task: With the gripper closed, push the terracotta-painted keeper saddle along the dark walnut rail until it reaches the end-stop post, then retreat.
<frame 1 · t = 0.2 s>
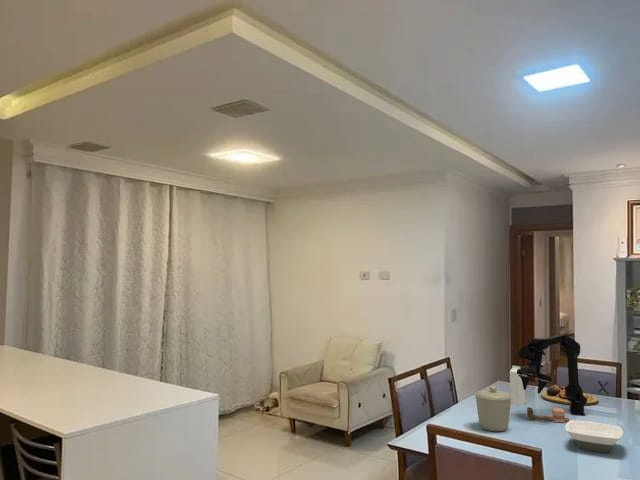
hand: (531, 391, 267), 15 cm above the table, tool pointing down, fingers open, 9 cm apart
keeper: (558, 415, 267), point 3 cm above the table, slide at 0.0 cm
bowl: (594, 448, 226), on the table
milk: (517, 403, 302), on the table
canister: (493, 429, 254), on the table
wooden plate with food: (569, 400, 312), on the table
rail: (548, 420, 268), on the table
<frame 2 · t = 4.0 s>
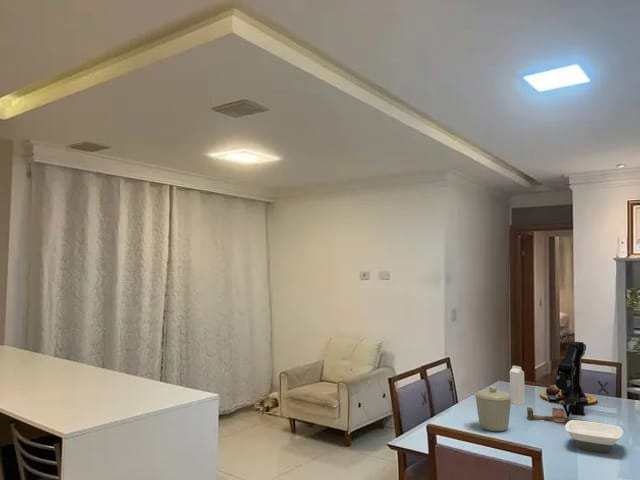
hand: (567, 416, 265), 3 cm above the table, tool pointing down, fingers closed
keeper: (558, 415, 267), point 3 cm above the table, slide at 0.0 cm, touching gripper
everything else where it was.
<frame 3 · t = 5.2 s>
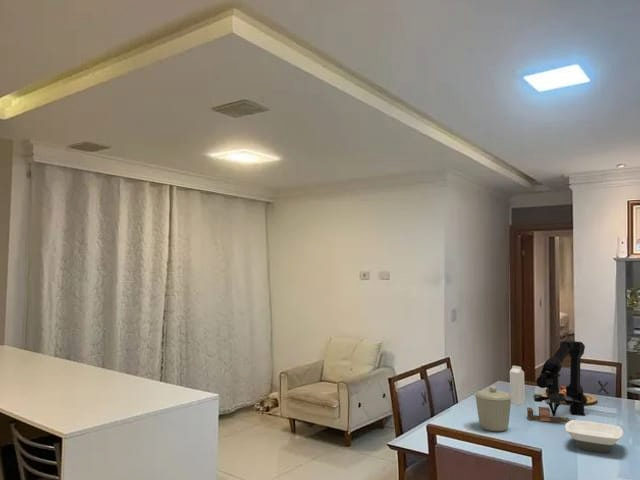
hand: (553, 415, 267), 3 cm above the table, tool pointing down, fingers closed
keeper: (544, 414, 269), point 3 cm above the table, slide at 6.8 cm, touching gripper
everything else where it was.
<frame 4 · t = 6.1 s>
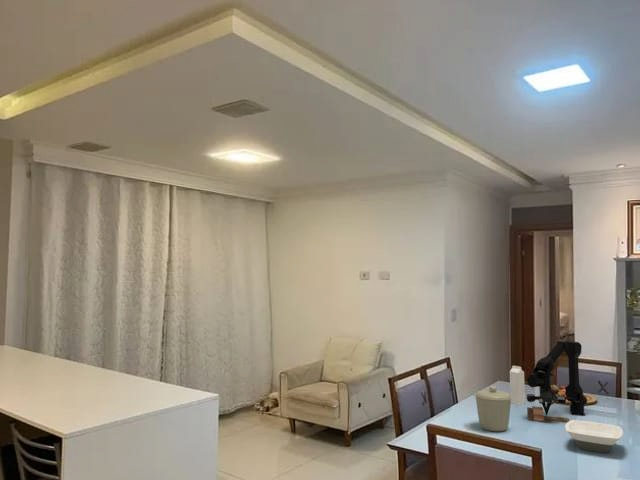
hand: (546, 415, 268), 3 cm above the table, tool pointing down, fingers closed
keeper: (537, 413, 270), point 3 cm above the table, slide at 10.1 cm, touching gripper
everything else where it was.
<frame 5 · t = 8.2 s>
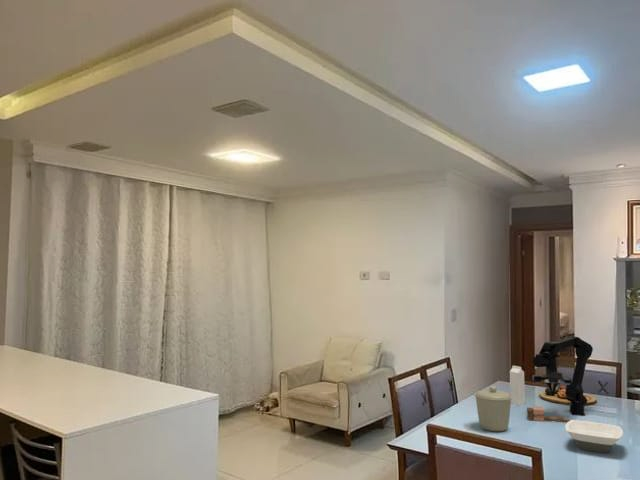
hand: (552, 395, 274), 12 cm above the table, tool pointing down, fingers closed
keeper: (537, 413, 270), point 3 cm above the table, slide at 10.0 cm
everything else where it was.
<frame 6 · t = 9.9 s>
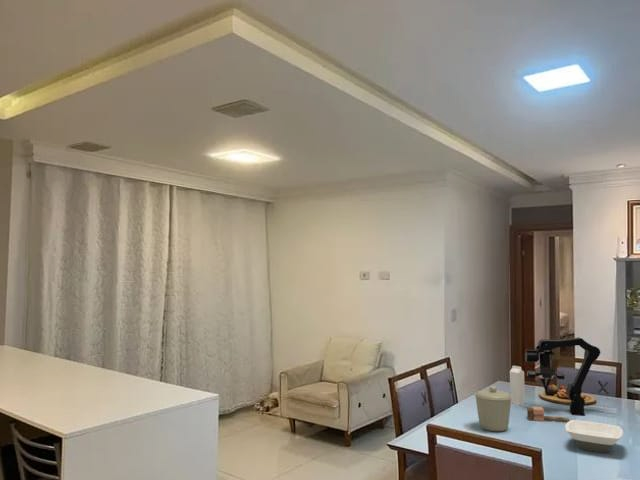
hand: (545, 390, 284), 12 cm above the table, tool pointing down, fingers closed
at the end: keeper slide at 10.0 cm; the gripper is holding nothing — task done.
